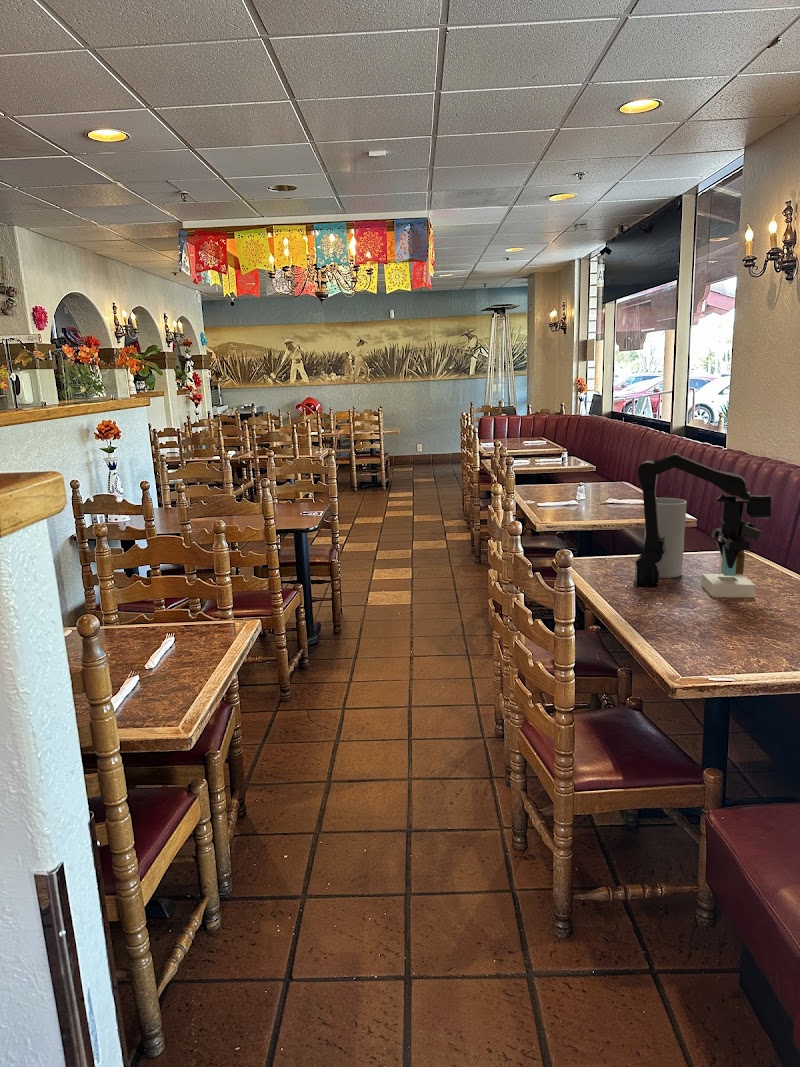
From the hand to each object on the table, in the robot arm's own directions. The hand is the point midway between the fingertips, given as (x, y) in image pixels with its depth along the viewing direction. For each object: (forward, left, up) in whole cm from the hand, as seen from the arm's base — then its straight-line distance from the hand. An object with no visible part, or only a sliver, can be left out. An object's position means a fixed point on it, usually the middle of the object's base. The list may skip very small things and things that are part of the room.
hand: (728, 566), depth 225 cm
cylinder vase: (-15, +20, -8) cm, 26 cm away
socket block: (0, 0, -8) cm, 8 cm away
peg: (0, 0, -3) cm, 3 cm away
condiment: (+6, +12, -8) cm, 16 cm away
